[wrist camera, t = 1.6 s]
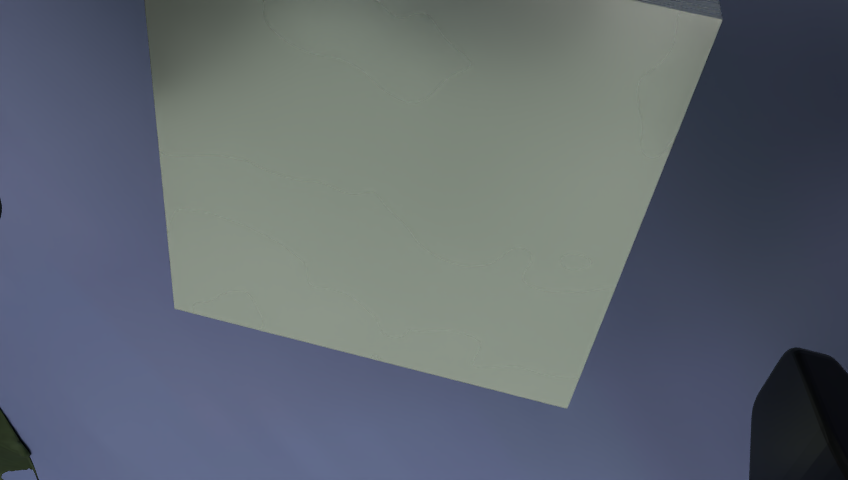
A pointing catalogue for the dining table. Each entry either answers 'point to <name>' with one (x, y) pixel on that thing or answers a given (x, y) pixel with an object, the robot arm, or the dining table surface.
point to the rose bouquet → (12, 450)
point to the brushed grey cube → (419, 170)
